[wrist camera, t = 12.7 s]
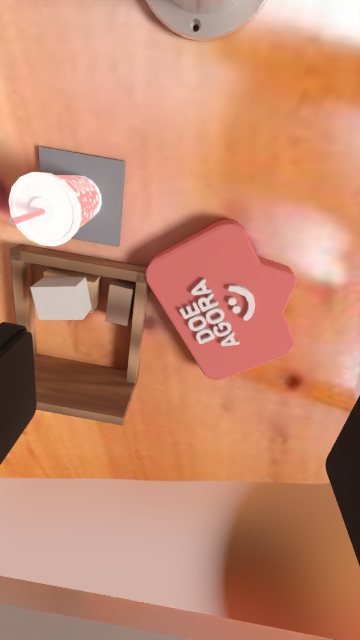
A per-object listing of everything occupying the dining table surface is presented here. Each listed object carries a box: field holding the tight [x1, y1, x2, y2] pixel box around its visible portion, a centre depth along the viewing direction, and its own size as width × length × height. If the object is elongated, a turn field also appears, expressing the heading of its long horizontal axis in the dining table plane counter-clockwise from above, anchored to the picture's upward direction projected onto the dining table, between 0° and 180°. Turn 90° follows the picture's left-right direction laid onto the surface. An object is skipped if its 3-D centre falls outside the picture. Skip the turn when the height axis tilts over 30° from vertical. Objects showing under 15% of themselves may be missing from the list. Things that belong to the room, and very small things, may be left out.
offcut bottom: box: [43, 267, 101, 313], centre depth 41 cm, size 4×6×3 cm, turn 79°
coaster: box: [39, 147, 125, 246], centre depth 37 cm, size 9×9×1 cm
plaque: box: [145, 219, 297, 380], centre depth 39 cm, size 18×4×15 cm
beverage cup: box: [8, 172, 102, 246], centre depth 30 cm, size 6×6×14 cm
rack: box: [10, 244, 149, 425], centre depth 40 cm, size 17×16×9 cm
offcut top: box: [30, 277, 92, 320], centre depth 38 cm, size 4×5×3 cm
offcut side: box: [105, 278, 136, 326], centre depth 41 cm, size 5×3×2 cm, turn 168°
